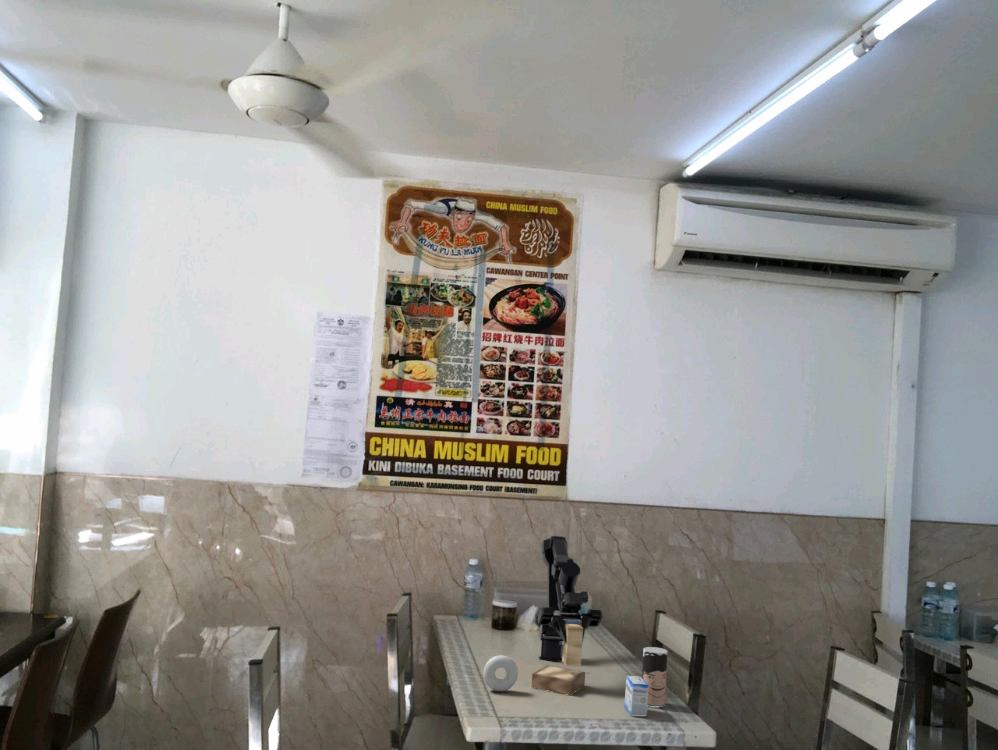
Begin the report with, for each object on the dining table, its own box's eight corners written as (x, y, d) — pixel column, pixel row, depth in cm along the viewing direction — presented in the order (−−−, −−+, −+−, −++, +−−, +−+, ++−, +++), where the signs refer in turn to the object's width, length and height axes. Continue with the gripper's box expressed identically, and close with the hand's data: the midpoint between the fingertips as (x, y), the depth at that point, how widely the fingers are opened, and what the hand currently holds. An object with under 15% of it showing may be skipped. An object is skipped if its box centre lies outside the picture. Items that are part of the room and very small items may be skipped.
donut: (516, 690, 247) (518, 654, 248) (517, 693, 244) (520, 657, 245) (481, 688, 246) (483, 653, 247) (482, 692, 243) (484, 656, 244)
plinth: (531, 687, 251) (532, 673, 251) (547, 678, 261) (547, 664, 262) (570, 695, 246) (571, 681, 246) (584, 685, 256) (585, 671, 257)
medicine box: (624, 707, 238) (625, 675, 239) (639, 708, 238) (641, 676, 239) (630, 716, 230) (632, 683, 231) (647, 717, 230) (649, 684, 231)
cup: (638, 705, 240) (641, 650, 241) (642, 699, 247) (645, 645, 248) (663, 709, 238) (666, 654, 239) (666, 703, 244) (668, 649, 246)
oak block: (562, 661, 256) (564, 623, 256) (576, 661, 256) (579, 624, 257) (565, 665, 251) (568, 627, 252) (580, 666, 252) (583, 627, 253)
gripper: (542, 579, 258) (548, 625, 246) (602, 582, 261) (611, 627, 249) (535, 601, 265) (540, 647, 253) (593, 603, 268) (602, 648, 257)
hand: (573, 642), depth 253 cm, fingers closed on oak block, 4 cm apart
